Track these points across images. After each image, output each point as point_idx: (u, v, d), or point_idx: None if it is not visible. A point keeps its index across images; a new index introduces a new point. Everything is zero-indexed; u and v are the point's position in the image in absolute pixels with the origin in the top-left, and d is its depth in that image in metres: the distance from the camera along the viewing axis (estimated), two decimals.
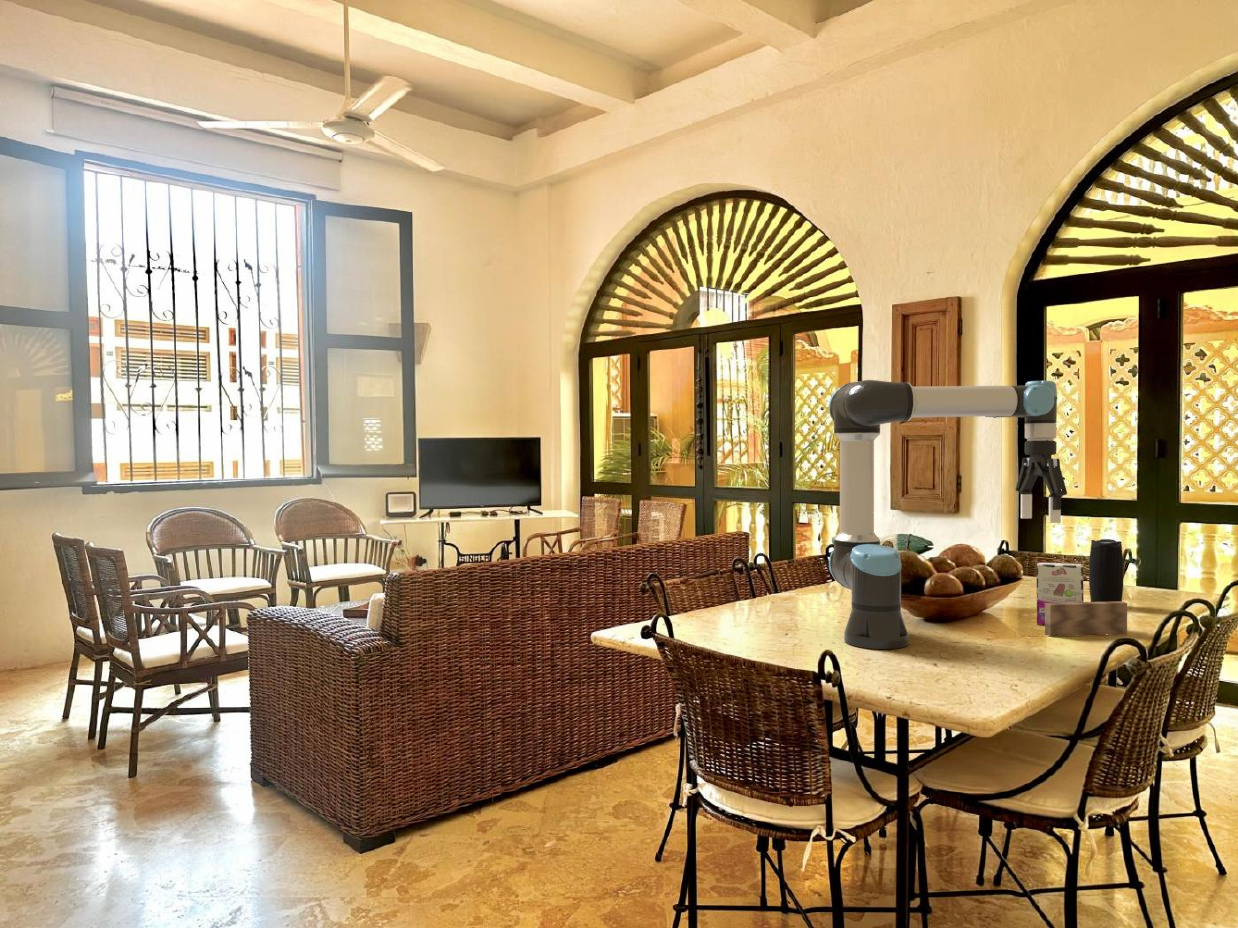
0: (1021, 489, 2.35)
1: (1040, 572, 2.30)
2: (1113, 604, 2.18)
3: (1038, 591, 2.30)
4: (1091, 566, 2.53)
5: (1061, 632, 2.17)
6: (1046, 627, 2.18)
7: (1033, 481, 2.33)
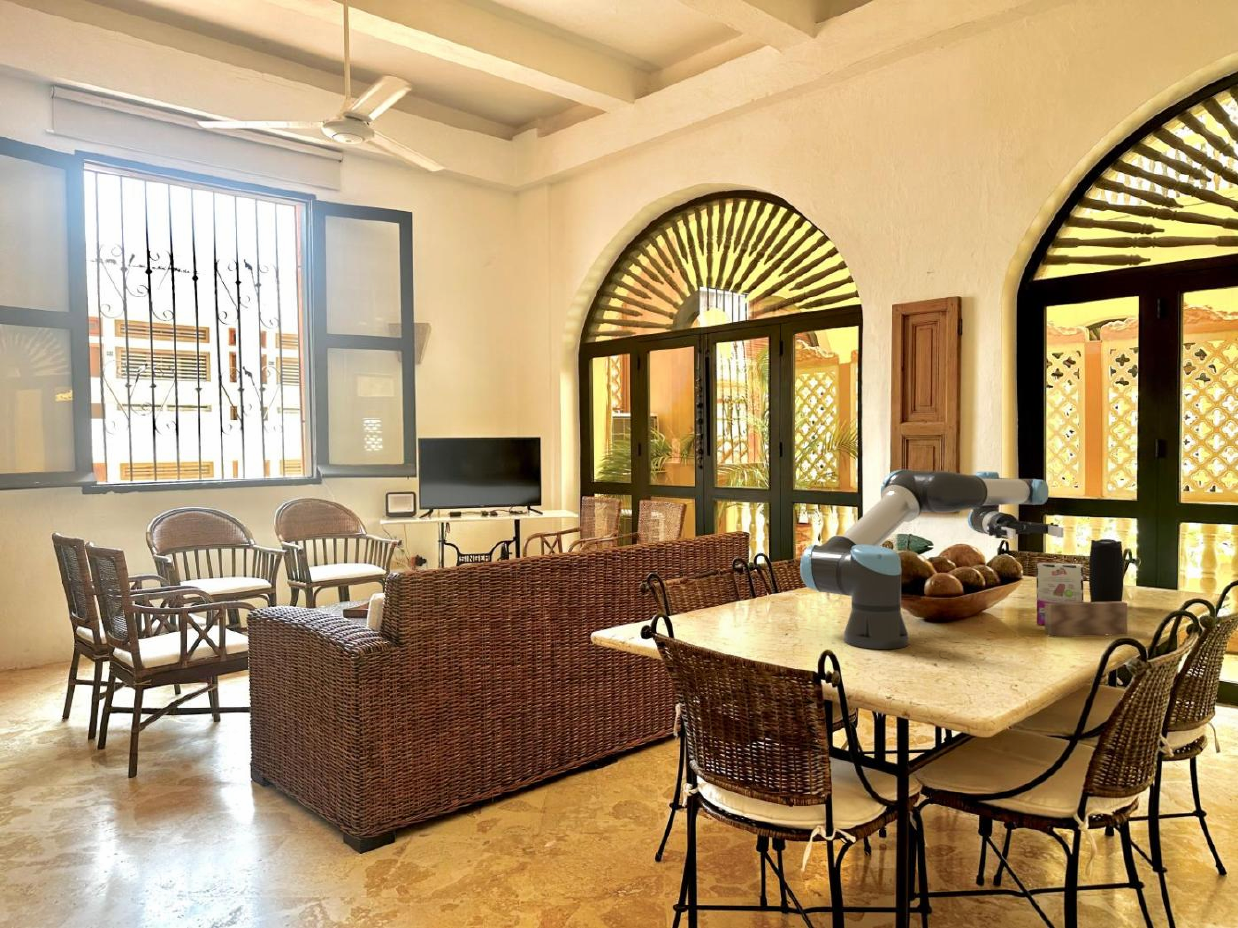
0: (999, 526, 2.48)
1: (1040, 572, 2.30)
2: (1113, 604, 2.18)
3: (1038, 591, 2.30)
4: (1091, 566, 2.53)
5: (1061, 632, 2.17)
6: (1046, 627, 2.18)
7: None
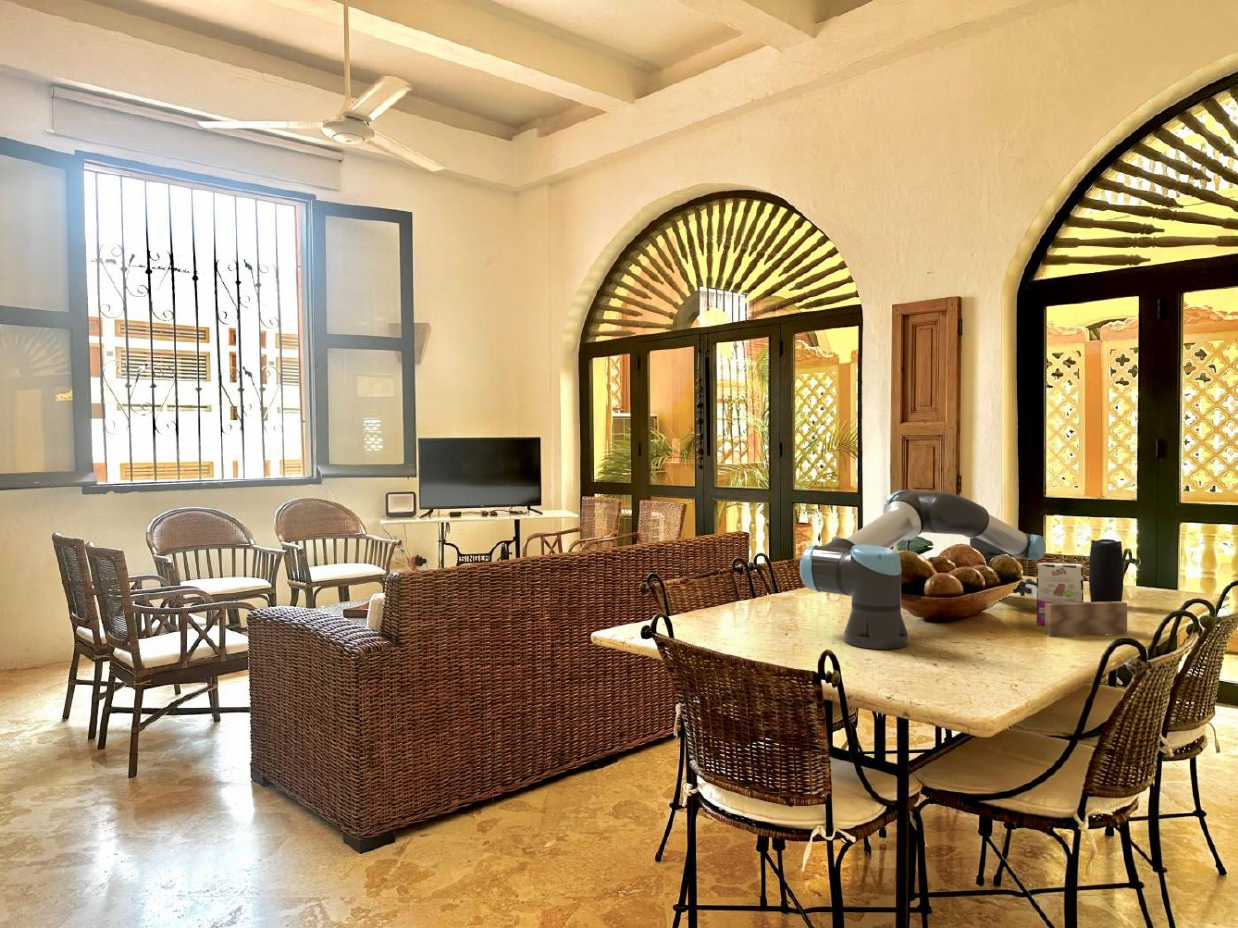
0: (1020, 584, 2.47)
1: (1040, 572, 2.30)
2: (1113, 604, 2.18)
3: (1038, 591, 2.30)
4: (1091, 566, 2.53)
5: (1061, 632, 2.17)
6: (1046, 627, 2.18)
7: None
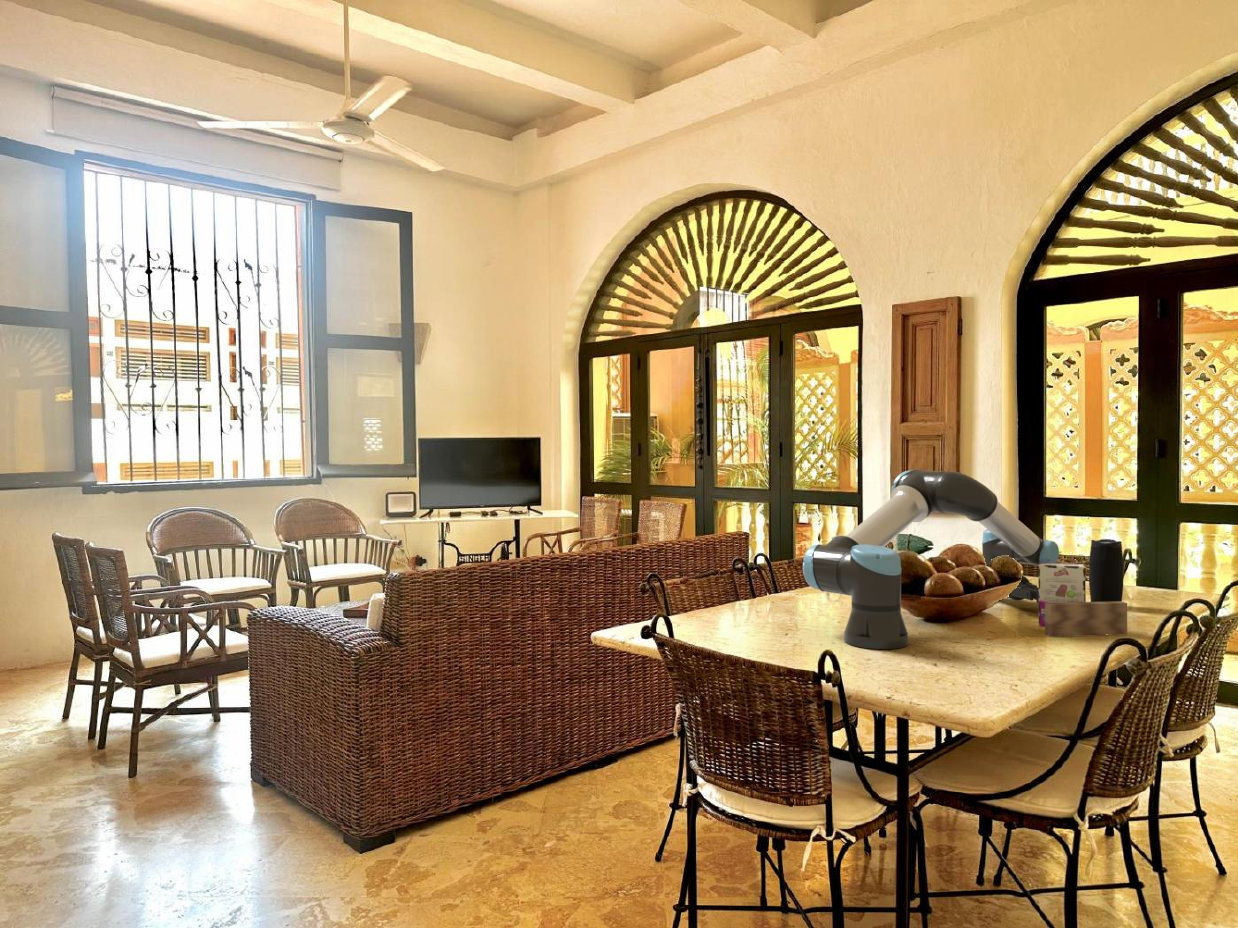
0: (1036, 590, 2.40)
1: (1042, 573, 2.28)
2: (1113, 604, 2.18)
3: (1040, 592, 2.29)
4: (1091, 566, 2.53)
5: (1061, 632, 2.17)
6: (1046, 627, 2.18)
7: None
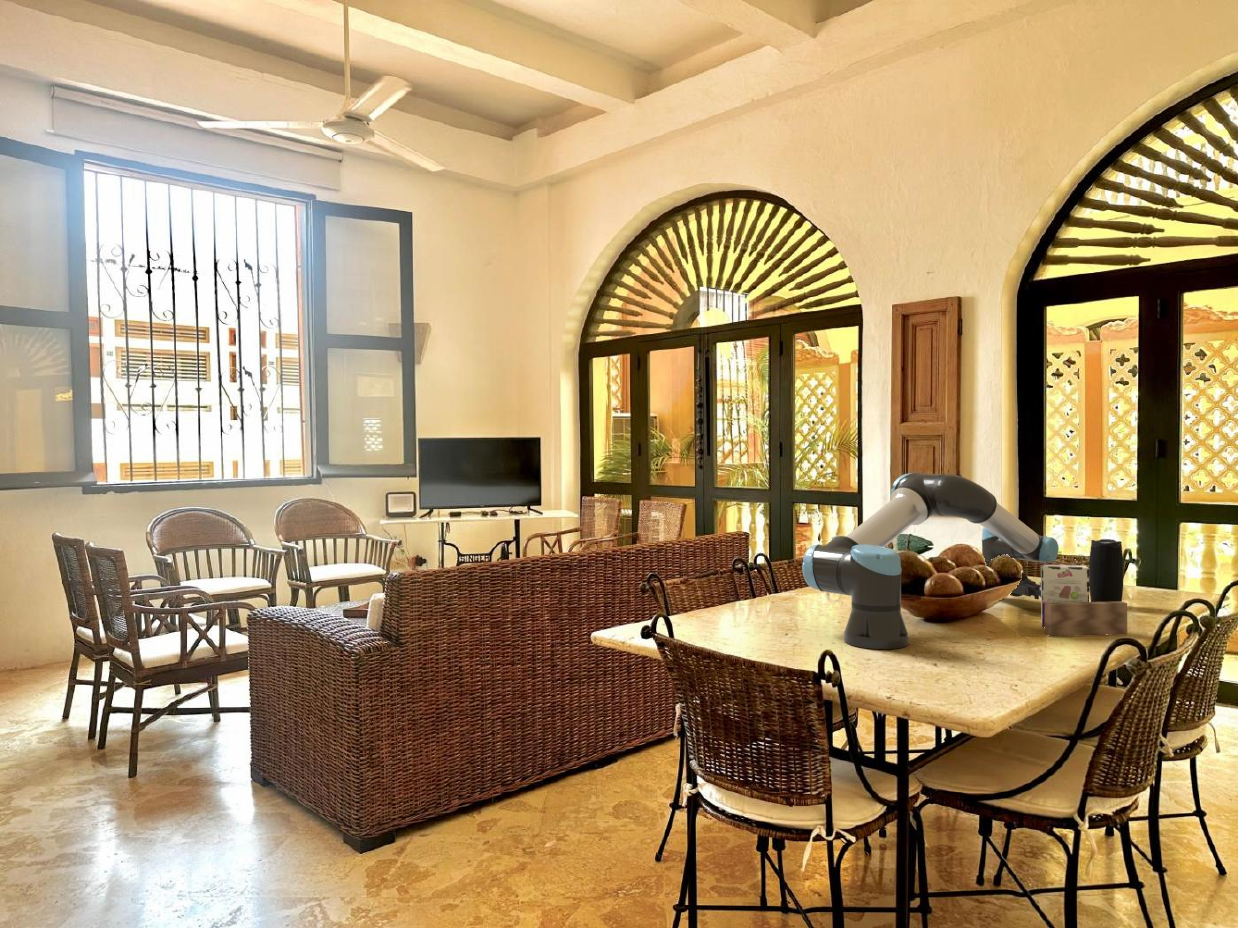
0: (1035, 587, 2.41)
1: (1045, 574, 2.26)
2: (1113, 604, 2.18)
3: (1044, 594, 2.26)
4: (1091, 566, 2.53)
5: (1061, 632, 2.17)
6: (1046, 627, 2.18)
7: None
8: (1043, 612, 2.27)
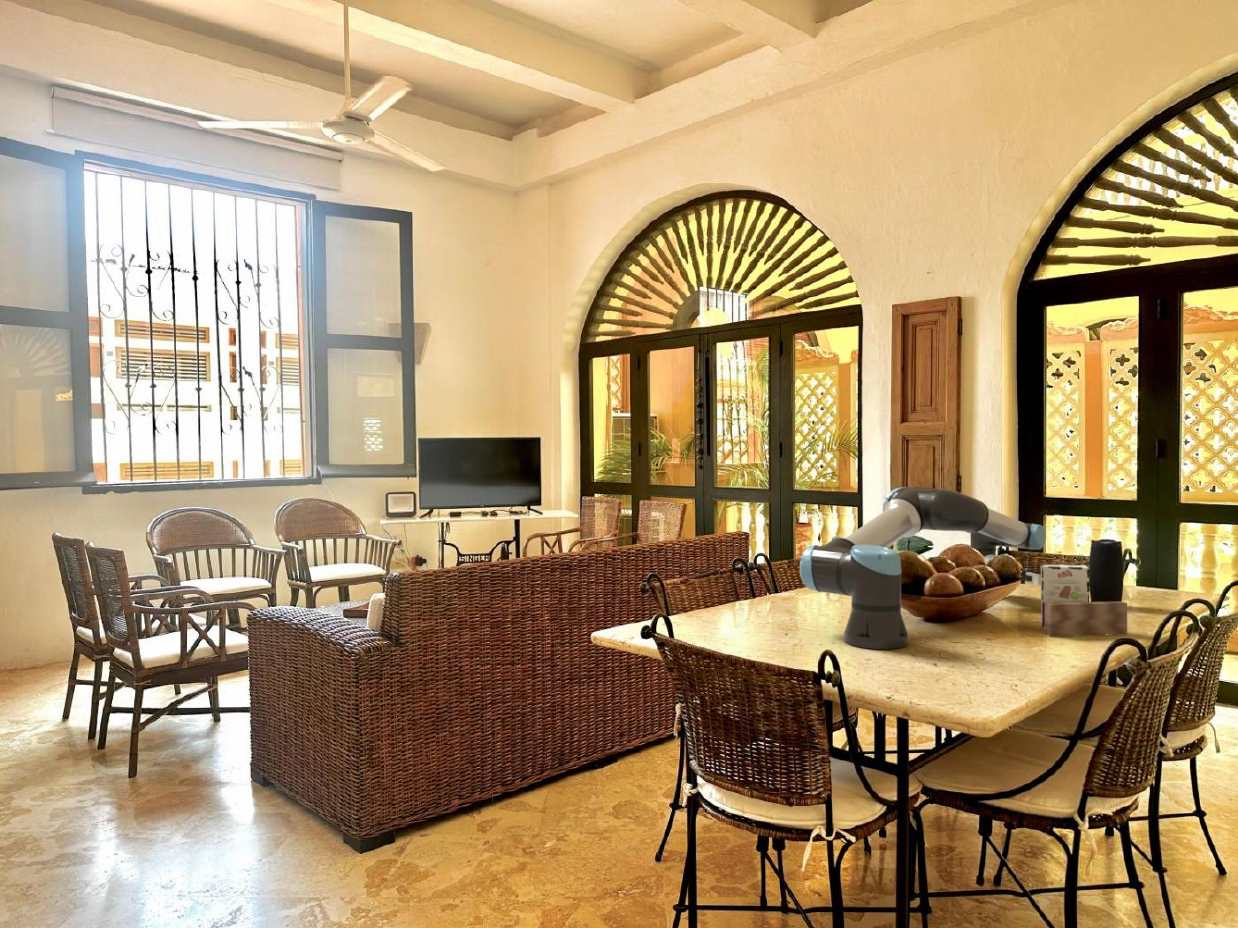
0: None
1: (1045, 574, 2.26)
2: (1113, 604, 2.18)
3: (1044, 594, 2.26)
4: (1091, 566, 2.53)
5: (1061, 632, 2.17)
6: (1046, 627, 2.18)
7: None
8: (1043, 612, 2.27)
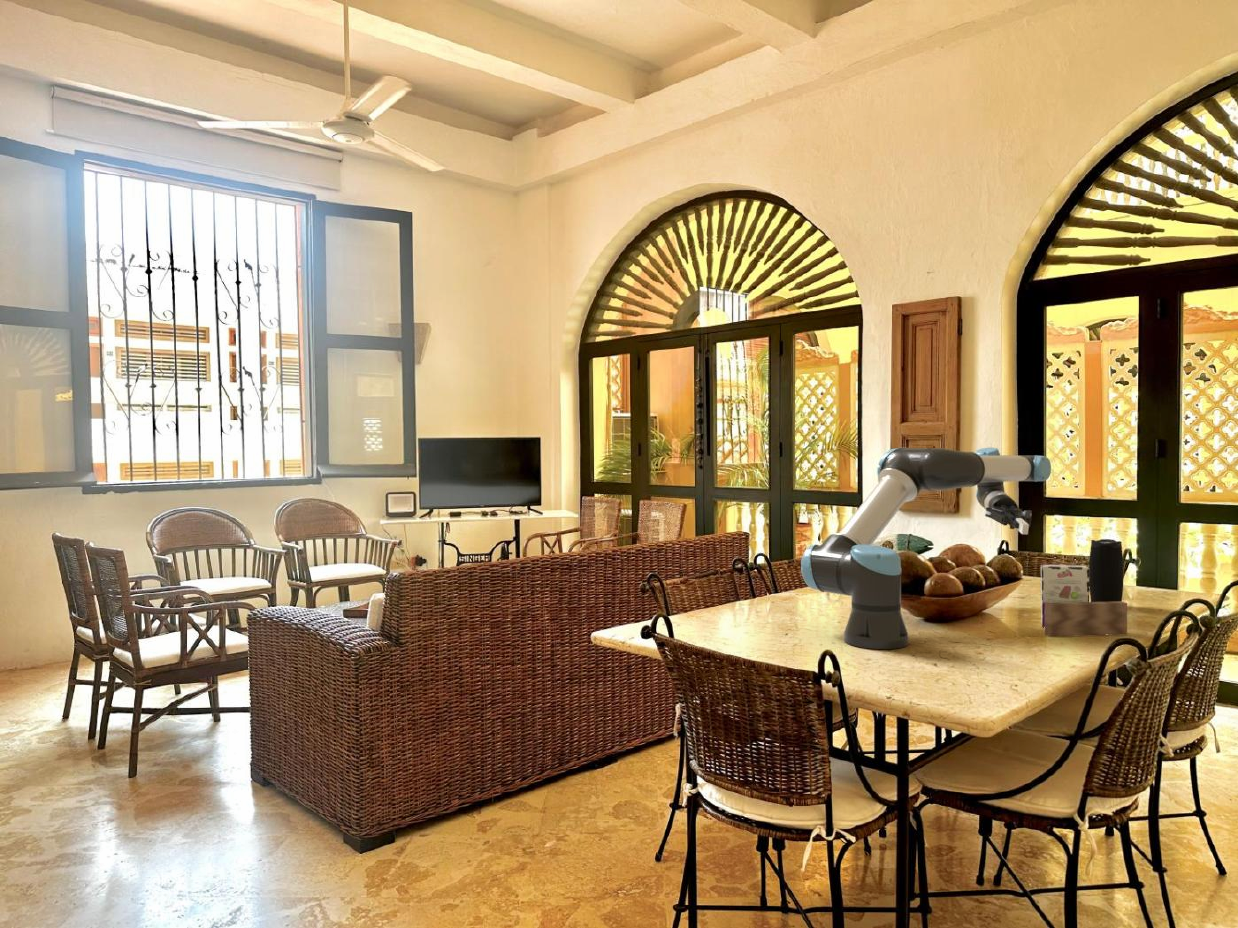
0: (1012, 516, 2.44)
1: (1045, 574, 2.26)
2: (1113, 604, 2.18)
3: (1044, 594, 2.26)
4: (1091, 566, 2.53)
5: (1061, 632, 2.17)
6: (1046, 627, 2.18)
7: None
8: (1043, 612, 2.27)
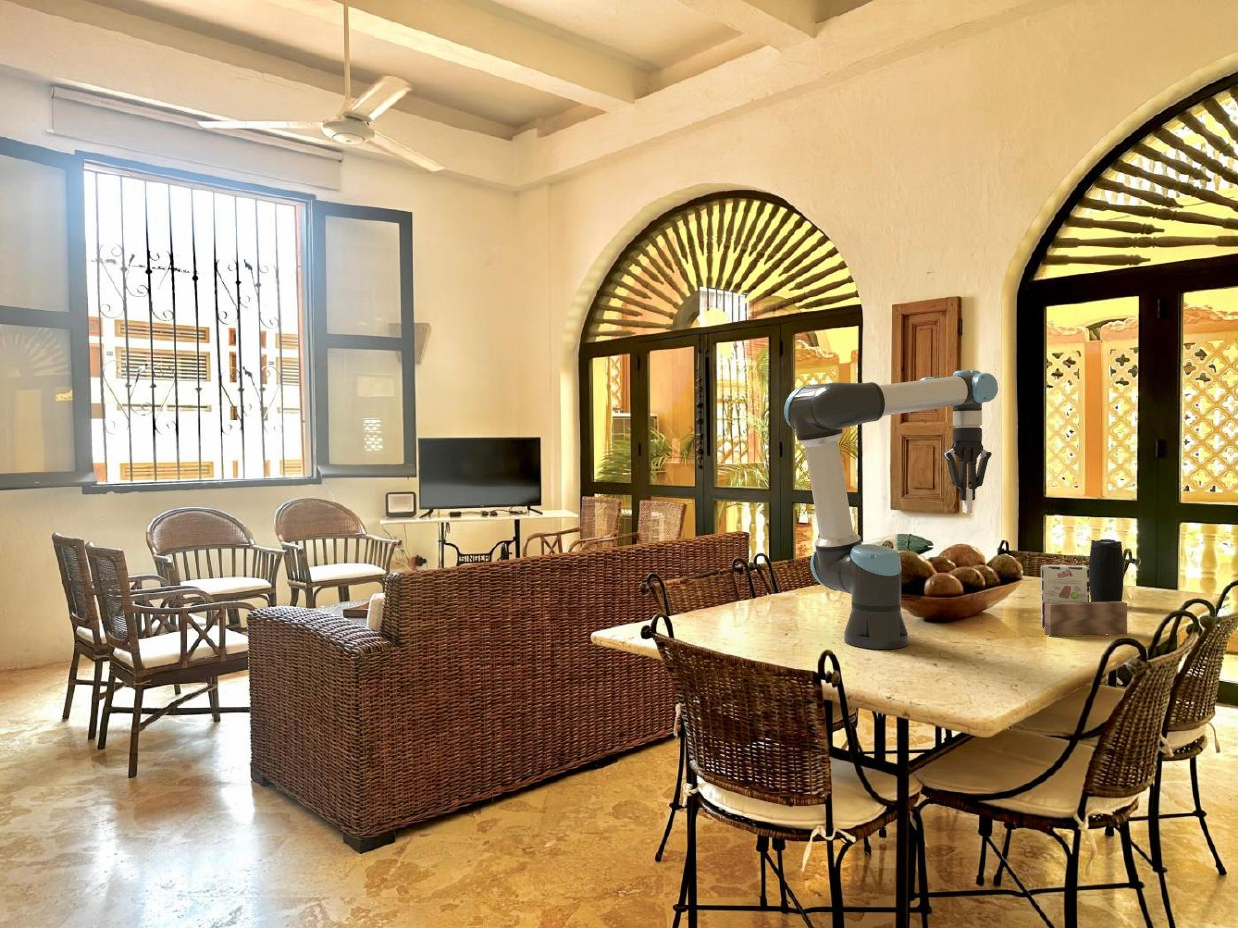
0: (964, 483, 2.38)
1: (1045, 574, 2.26)
2: (1113, 604, 2.18)
3: (1044, 594, 2.26)
4: (1091, 566, 2.53)
5: (1061, 632, 2.17)
6: (1046, 627, 2.18)
7: None
8: (1043, 612, 2.27)
